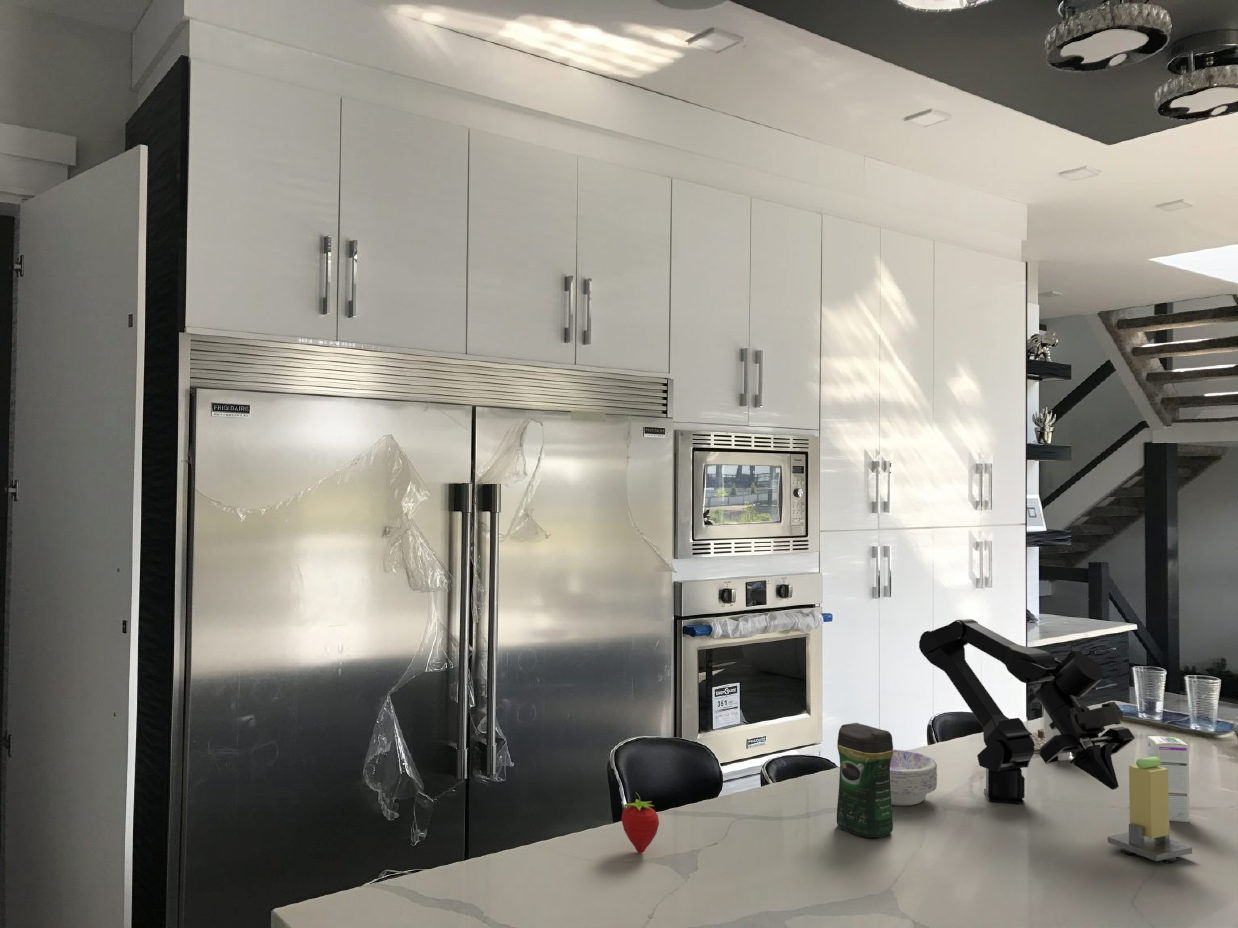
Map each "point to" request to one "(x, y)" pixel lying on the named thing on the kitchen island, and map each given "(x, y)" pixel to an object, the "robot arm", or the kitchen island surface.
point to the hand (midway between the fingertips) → (1115, 788)
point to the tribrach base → (1149, 845)
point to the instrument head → (1149, 797)
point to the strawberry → (640, 824)
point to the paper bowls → (911, 777)
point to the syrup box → (1174, 773)
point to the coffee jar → (864, 780)
